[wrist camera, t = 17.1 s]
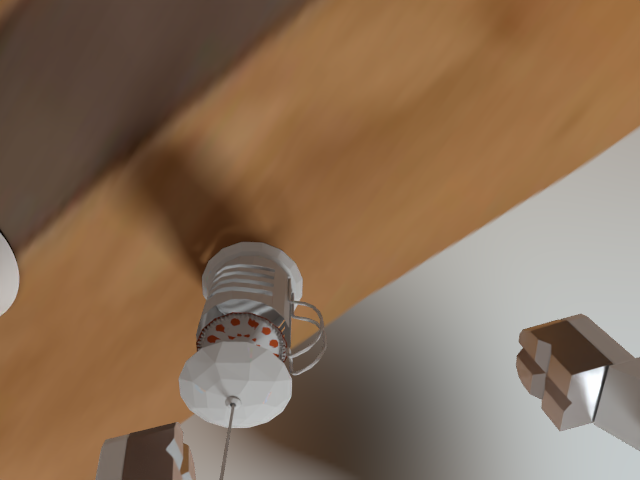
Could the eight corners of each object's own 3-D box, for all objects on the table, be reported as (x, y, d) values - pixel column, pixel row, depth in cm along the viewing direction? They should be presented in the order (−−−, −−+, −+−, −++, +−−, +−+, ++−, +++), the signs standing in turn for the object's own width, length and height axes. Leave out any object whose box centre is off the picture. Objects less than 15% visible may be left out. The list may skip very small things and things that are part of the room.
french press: (189, 249, 45) (78, 495, 22) (312, 230, 44) (327, 460, 22) (215, 334, 49) (144, 612, 26) (328, 317, 49) (353, 584, 26)
